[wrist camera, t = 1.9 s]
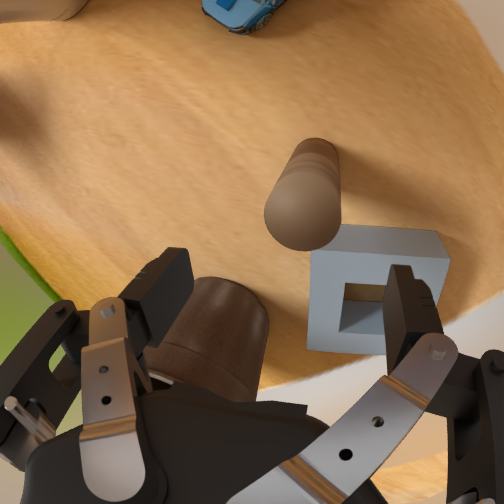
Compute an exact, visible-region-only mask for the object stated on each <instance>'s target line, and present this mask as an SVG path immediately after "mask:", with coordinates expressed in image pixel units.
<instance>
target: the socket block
mask: <svg viewBox="0 0 504 504" xmlns="http://www.w3.org/2000/svg"><path fill="white" fill-rule="evenodd" d="M450 261H451V258H450V256H449V254H448V252H447V250H446V248H445V246H444V244H443V243H442V241H441V239H440V237H439V235H438V233H437V232H436V231H429V230H417V229H405V228H392V227H378V226H364V225H348V224H341V225H340V229H339V231H338V233H337V235H336V236H335V238H334V239H333V240H332V241H331V242H330V243H329V244H327V245H326V246H324V247H322V248H320V249H317V250H313V251H311V274H310V297H309V316H308V333H307V348H306V350H312V351H323V352H336V353H351V354H368V355H386V344H385V333H384V323H383V313H382V307H383V302H368V301H352V300H343V296H344V288H345V283H358V284H374V285H386V284H387V280H388V275H389V270H390V266H391V264H400V265H410V266H411V268H412V271H413V274H414V277H415V279H422V280H423V281H424V282H425V283H426V284H427V285H428V286H429V287H430V289H431V292H432V295H433V300H434V301H435V305H436V306H437V303H438V300H439V297H440V294H441V291H442V288H443V285H444V281H445V278H446V275H447V271H448V268H449V265H450Z"/></svg>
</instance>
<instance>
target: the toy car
mask: <svg viewBox="0 0 504 504" xmlns="http://www.w3.org/2000/svg"><path fill="white" fill-rule="evenodd" d="M286 1H287V0H202V6H203V7H202V11H203V12H204V14H205V15H207V16H210V17H212V18H213V19H214V20H216V21H217V22H219V23H220V24H221V25H223V26H224V27H226V28H227V29H229V32H233V33H236V34H239V35H248V34H249V33H251V31H250V29H251V30H252V31H256V30H258V29H260V28H262V27H263V26H264V25H265V24H266V23H267V22H268V21H269V20H270V18H271V17H272V14H273V10H272V9H274V10H276V9H277V8H279V7H280V6H281V5H282V4H283V3H284V2H286Z"/></svg>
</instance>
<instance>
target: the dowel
mask: <svg viewBox="0 0 504 504" xmlns="http://www.w3.org/2000/svg"><path fill="white" fill-rule="evenodd" d="M264 219H265V223H266V226H267V229H268V230H269V232H270V234H271V235H272V236H273V237H274V238H275V240H277V241H278V242H279V243H280V244H282V245H283V246H285V247H287V248H290V249H293V250H297V251H313V250H317V249H320V248H322V247H324V246H326V245H327V244H329V243H330V242H331V241H332V240H333V239H334V238H335V236H336V235H337V233H338V231H339V229H340V225H341V192H340V172H339V158H338V154H337V151H336V149H335V148H334V147H333V145H332V144H330V143H329V142H328V141H326V140H324V139H320V138H309V139H306V140H304V141H302V142H301V143H300V144H299V145H298V146H297V147H296V149H295V151H294V152H293V154H292V156H291V158H290V160H289V161H288V163H287V165H286V167H285V169H284V170H283V172H282V174H281V176H280V177H279V179H278V181H277V183H276V185H275V187H274V188H273V190H272V192H271V194H270V196H269V197H268V199H267V201H266V204H265V209H264Z"/></svg>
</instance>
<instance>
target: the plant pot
mask: <svg viewBox="0 0 504 504" xmlns="http://www.w3.org/2000/svg"><path fill="white" fill-rule="evenodd" d="M268 332H269V318H268V314H267V312H266V310H265V309H264V308H262V306H261V305H260V303H259V302H258V300H257V298H256V296H255V295H254V294H252V293H251V292H250V291H249V290H247V289H246V288H244V287H242V286H240V285H238V284H236V283H234V282H231V281H228V280H226V279H221V278H215V277H202V278H198V279H196V280H194V289H193V292H192V294H191V296H190V297H189V299H188V301H187V302H186V304H185V305H184V307H183V308H182V310H181V312H180V313H179V315H178V316H177V318H176V319H175V321H174V323H173V324H172V326H171V327H170V329H169V331H168V332H167V334H166V335H165V337H164V339H163V340H162V342H161V343H160V345H159V347H158V348H153V347H149V346H146V347H145V348H144V350H143V351H144V353H145V356H146V361H147V366H148V370H149V375H150V379H151V383H152V388H153V391H157V390H166V389H170V387H171V385H172V384H173V382H174V381H177V382H181V383H185V384H189V385H194V386H198V387H202V388H205V389H207V390H209V391H211V392H213V393H215V394H218V395H220V396H222V397H224V398H226V399H228V400H231V401H233V402H256V397H257V391H258V385H259V380H260V374H261V369H262V363H263V358H264V352H265V347H266V342H267V337H268Z"/></svg>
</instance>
